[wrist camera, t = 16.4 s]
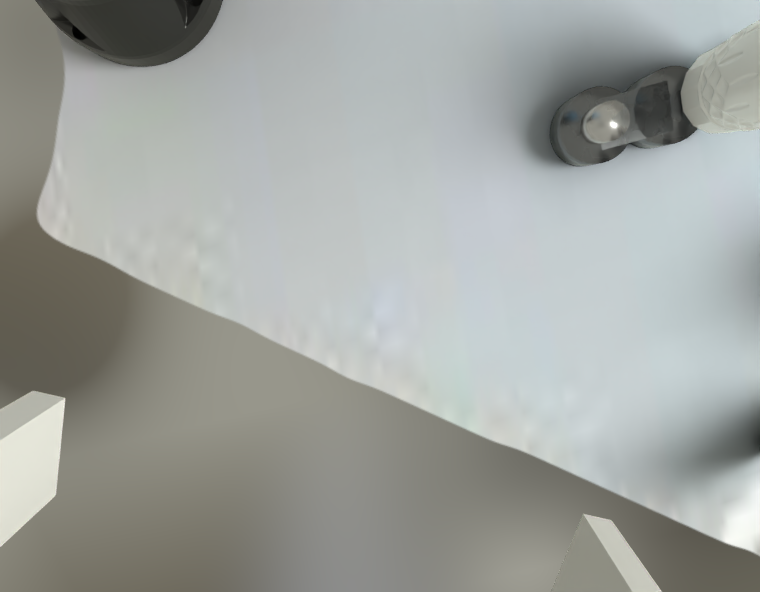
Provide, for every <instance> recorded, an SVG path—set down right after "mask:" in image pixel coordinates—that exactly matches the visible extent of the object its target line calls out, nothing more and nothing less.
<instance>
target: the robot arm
mask: <svg viewBox="0 0 760 592" xmlns="http://www.w3.org/2000/svg"><path fill="white" fill-rule="evenodd" d="M222 1H223V0H36V2H37V3H38V4H39V6H40V7H41V8H42V9H43V11H44V12H45V13H46V14H47V15H48V17H49V18H50V19H51V20H52V21H53V22H54V23H55V24H56V25H57V27H59V28H60V29H61V30H62V31H63V32H64V33H65V34H67V35H68V36H69V37H70V38H72V39H73V40H74V41H76V42H77V43H79V44H80V45H82V46H84V47H86V48H87V49H89V50H91V51H93V52H95V53H96V54H98V55H100V56H102V57H104V58H106V59H109V60H111V61H114V62H117V63H120V64H125V65H130V66H154V65H160V64H164V63H167V62H170V61H173V60H175V59H177V58H179V57H181V56H183V55H184V54H186V53H187V52H189V51H190V50H192V49H193V48H194V47H195V46H196V45H197V44H198V43H199V42H200V41H201V40H202V39H203V38H204V37H205V36H206V34H207V33H208V32H209V30H210V28H211V27H212V25H213V23H214V22H215V20H216V18H217V15H218V13H219V10H220V8H221V4H222ZM64 406H65V398H63V397H59V396H54V395H50V394H45V393H41V392H36V391H32V392H30V393H28V394H26V395H25V396H23V397H21V398H19V399H18V400H16V401H14V402H12V403H11V404H9V405H7V406H6V407H3V408H2V409H0V547H1V546H2V545H3V544H4V543H5V542H6V541H7V540H8V539H9V538H10V537H12V536H13V535H14V534H15V533H16V532H17V531H18V530H19V529H20V528H21V527H22V526H23V525H24V524H25V523H27V522H28V521H29V520H30V519H31V518H32V517H33V516H34V515H35V514H36V513H37V512H38V511H39V510H40V509H42V507H44V506H45V505H46V504H47V503H48V502H49V501H50V500H51V499H52V498H53V497H54V496H56V488H57V478H58V467H59V457H60V447H61V437H62V427H63V416H64ZM551 592H662V591H661V590H660V589H659V587H658V586H657V584H656V583H655V581H654V580H653V579H652V577H651V576H650V574H649V573H648V572H647V570H646V569H645V567H644V566H643V564H642V563H641V562H640V560H639V559H638V557H637V556H636V555H635V553H634V552H633V550H632V549H631V547H630V546H629V545H628V543H627V542H626V540H625V539H624V537H623V536H622V535H621V533H620V532H619V531H618V529H617V528H616V526H615V525H614V523H613V522H612V520H608V519H604V518H599V517H595V516H590V515H586V514H583V516H582V518H581V520H580V523H579V525H578V528H577V530H576V532H575V535H574V537H573V540H572V542H571V544H570V547H569V549H568V552H567V554H566V556H565V559H564V562H563V564H562V566H561V569H560V571H559V573H558V576H557V578H556V581H555V583H554V586H553V588H552V590H551Z"/></svg>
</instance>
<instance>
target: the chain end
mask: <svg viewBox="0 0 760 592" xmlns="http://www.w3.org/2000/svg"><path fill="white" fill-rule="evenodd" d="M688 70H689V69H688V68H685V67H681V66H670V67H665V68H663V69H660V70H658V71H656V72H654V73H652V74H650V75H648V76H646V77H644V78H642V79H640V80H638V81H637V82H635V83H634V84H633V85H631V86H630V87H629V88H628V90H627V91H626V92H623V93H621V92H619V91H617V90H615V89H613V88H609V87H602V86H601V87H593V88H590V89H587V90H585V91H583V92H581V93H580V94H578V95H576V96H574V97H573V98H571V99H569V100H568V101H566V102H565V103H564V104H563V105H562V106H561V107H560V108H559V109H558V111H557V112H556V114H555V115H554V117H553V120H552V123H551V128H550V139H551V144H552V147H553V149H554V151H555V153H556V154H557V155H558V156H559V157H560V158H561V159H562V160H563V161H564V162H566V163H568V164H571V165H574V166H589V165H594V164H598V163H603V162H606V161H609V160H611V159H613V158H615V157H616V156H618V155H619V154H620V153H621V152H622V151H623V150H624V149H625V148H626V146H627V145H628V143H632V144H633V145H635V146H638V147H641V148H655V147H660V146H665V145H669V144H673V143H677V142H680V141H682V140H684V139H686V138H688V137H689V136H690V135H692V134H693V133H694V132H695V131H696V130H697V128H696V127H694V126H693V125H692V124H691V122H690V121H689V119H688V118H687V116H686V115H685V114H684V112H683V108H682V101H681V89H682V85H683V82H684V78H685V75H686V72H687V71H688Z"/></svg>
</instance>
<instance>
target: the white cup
mask: <svg viewBox="0 0 760 592" xmlns="http://www.w3.org/2000/svg"><path fill="white" fill-rule="evenodd" d="M681 101H682V108H683V112H684V114H685V115H686V116H687V118H688V119H689V121H690V122H691V124H692V125H693V126H694V127H696V128H698V129H700V130H703V131H705V132H707V133H709V134H714V133H730V132H736V131H751V130H758V129H760V20H758V21H756V22H755V23H753V24H751V25H749V26H748V27H746V28H744V29H743V30H741V31H740V32H738V33H736V34H734V35H732V36H731V37H730V38H729V39H728V40H726V41H725V42H723V43H722V44H720V45H718V46H717V47H715V48H713V49H711V50H709V51H707V52H706V53H704V54H702V55H700V56H699V57H698V58H697V60H696V61H695V62H694V63H693V65H692V66H691V67H690V69H689V70H688V71H687V72H686V75H685V78H684V82H683V85H682V89H681Z"/></svg>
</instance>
